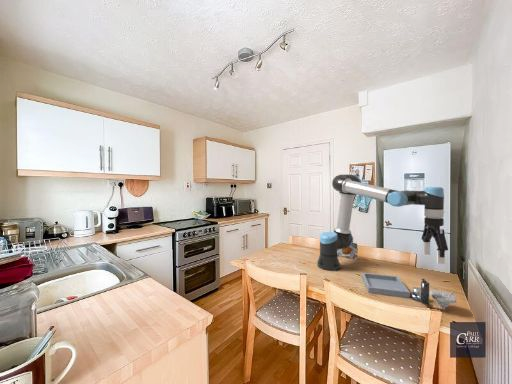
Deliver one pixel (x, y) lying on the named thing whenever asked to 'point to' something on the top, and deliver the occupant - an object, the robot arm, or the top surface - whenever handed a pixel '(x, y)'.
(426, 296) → the crank
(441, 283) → the top surface
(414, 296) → the crank base
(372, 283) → the tray
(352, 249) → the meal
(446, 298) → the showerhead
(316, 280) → the top surface
